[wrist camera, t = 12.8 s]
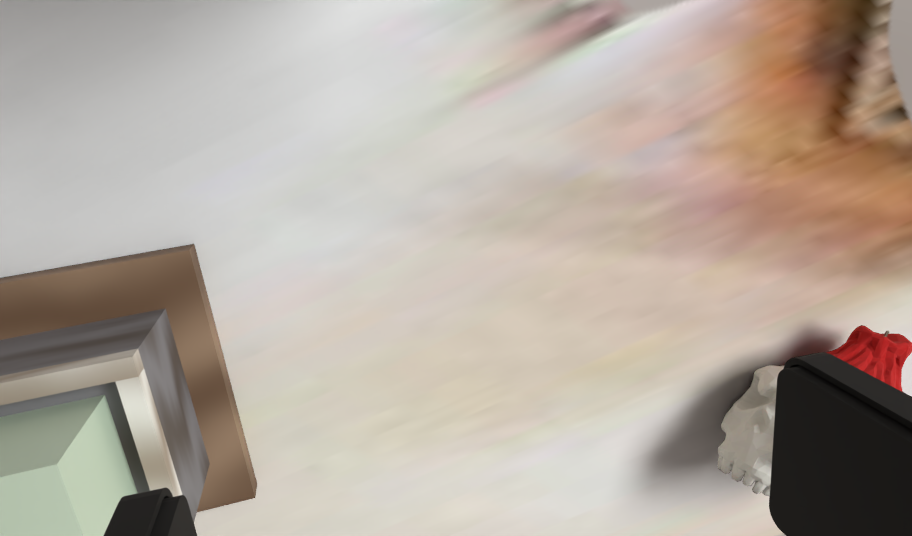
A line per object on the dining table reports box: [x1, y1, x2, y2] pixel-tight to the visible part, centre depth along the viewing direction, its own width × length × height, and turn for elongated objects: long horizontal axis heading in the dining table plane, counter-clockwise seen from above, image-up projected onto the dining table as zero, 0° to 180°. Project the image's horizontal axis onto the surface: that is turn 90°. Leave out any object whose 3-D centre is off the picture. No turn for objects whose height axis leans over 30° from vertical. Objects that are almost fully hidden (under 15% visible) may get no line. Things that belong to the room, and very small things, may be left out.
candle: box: [718, 325, 912, 496], centre depth 44 cm, size 9×11×15 cm
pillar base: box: [0, 244, 257, 522], centre depth 33 cm, size 16×14×8 cm
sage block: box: [0, 395, 137, 536], centre depth 27 cm, size 6×6×6 cm
